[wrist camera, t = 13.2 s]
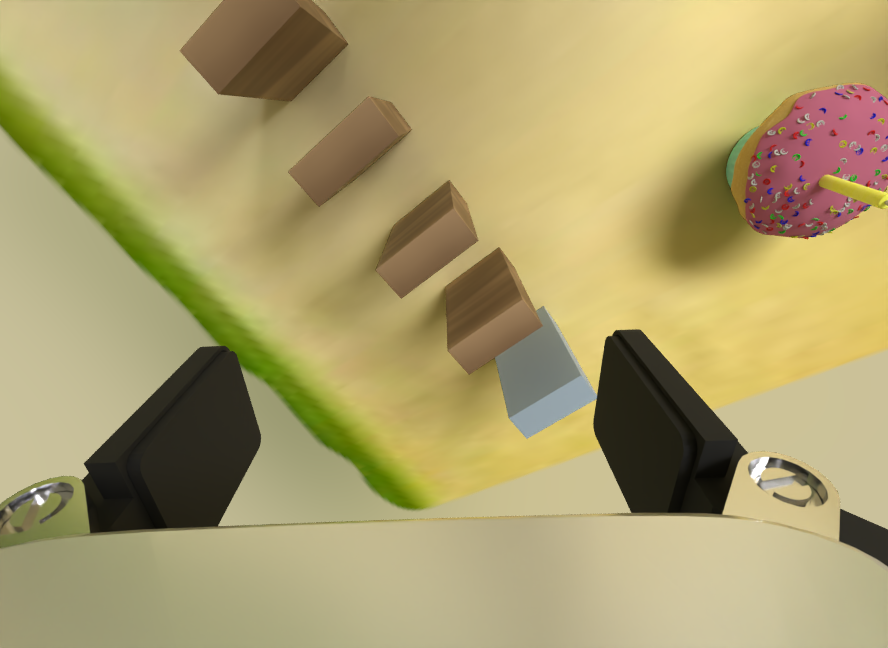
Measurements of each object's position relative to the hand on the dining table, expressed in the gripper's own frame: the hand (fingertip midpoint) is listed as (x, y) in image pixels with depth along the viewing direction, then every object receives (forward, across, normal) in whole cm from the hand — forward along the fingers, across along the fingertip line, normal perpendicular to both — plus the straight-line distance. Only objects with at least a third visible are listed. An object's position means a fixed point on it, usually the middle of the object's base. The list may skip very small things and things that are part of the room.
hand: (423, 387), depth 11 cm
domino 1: (+22, +7, -9) cm, 25 cm away
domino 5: (+22, -7, +10) cm, 25 cm away
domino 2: (+22, +4, -4) cm, 23 cm away
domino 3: (+22, 0, 0) cm, 22 cm away
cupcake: (+22, -22, -2) cm, 31 cm away
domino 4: (+22, -3, +5) cm, 22 cm away
